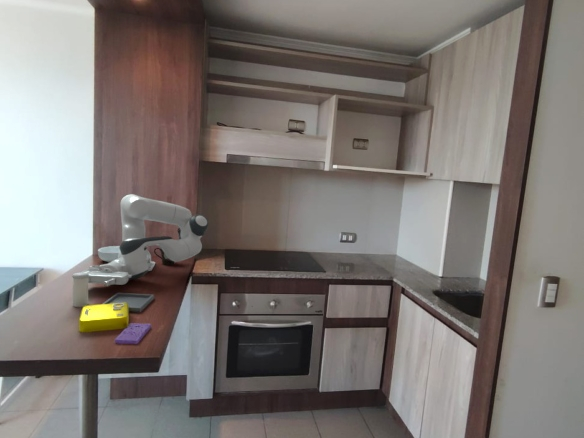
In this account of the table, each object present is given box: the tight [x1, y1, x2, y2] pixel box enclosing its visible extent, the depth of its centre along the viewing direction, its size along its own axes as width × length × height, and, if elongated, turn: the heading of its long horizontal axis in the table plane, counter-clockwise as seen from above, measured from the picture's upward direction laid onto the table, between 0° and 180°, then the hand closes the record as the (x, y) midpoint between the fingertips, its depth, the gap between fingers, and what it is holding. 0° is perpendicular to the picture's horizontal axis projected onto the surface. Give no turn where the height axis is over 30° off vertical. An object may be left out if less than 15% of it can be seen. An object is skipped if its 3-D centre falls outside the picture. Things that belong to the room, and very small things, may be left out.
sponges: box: [114, 322, 152, 345], centre depth 122 cm, size 7×13×2 cm, turn 2°
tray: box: [102, 292, 155, 313], centre depth 147 cm, size 15×15×2 cm
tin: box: [71, 272, 89, 308], centre depth 143 cm, size 5×5×12 cm
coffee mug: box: [153, 247, 175, 266], centre depth 210 cm, size 12×9×10 cm
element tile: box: [78, 303, 130, 333], centre depth 130 cm, size 15×15×5 cm
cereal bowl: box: [97, 245, 121, 264], centre depth 207 cm, size 17×17×7 cm
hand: (94, 283), depth 151 cm, fingers open, 8 cm apart
